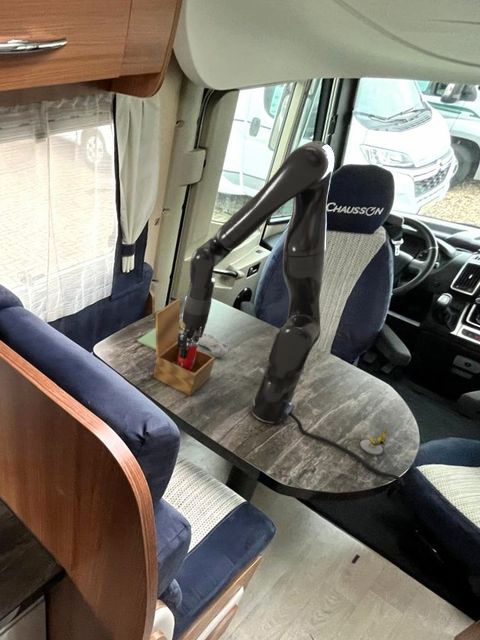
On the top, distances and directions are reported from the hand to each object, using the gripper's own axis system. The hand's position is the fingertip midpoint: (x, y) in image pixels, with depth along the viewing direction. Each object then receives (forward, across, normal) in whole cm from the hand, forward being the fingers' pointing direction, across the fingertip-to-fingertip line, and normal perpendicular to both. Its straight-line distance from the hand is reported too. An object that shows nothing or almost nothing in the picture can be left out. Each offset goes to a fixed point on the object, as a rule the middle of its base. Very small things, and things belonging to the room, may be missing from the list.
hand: (187, 353), depth 145 cm
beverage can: (+8, 0, 0) cm, 8 cm away
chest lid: (-7, 0, +8) cm, 11 cm away
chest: (+10, 0, 0) cm, 10 cm away
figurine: (+11, +9, -57) cm, 58 cm away
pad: (+10, +15, +17) cm, 25 cm away
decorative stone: (+10, +22, +1) cm, 24 cm away
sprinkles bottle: (+10, +30, +16) cm, 36 cm away
